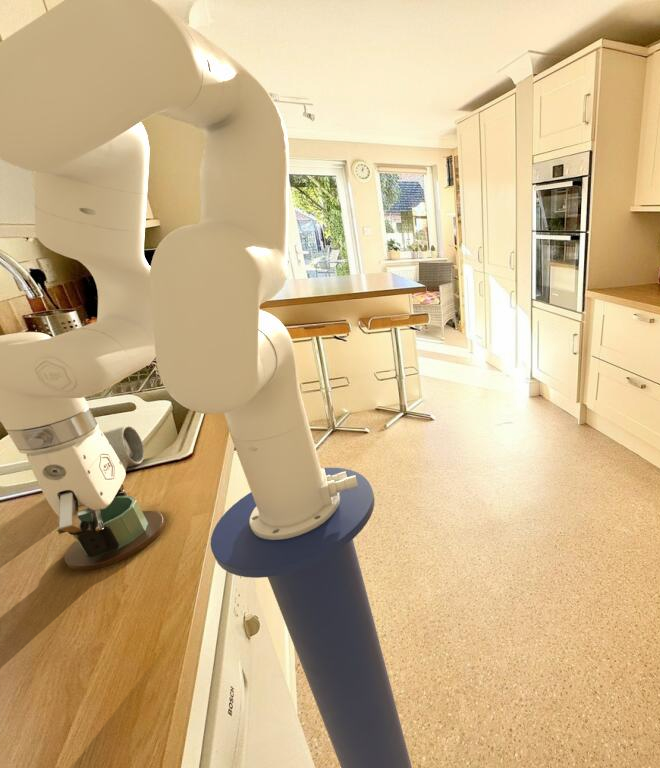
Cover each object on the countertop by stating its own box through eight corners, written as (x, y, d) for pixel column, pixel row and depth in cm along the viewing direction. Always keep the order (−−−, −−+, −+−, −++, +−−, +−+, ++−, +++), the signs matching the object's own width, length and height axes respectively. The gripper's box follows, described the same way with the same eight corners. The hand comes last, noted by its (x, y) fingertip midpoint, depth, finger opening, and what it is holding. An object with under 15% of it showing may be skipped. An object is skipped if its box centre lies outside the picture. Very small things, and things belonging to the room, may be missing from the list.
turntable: (171, 506, 68) (169, 502, 68) (156, 550, 59) (153, 546, 59) (83, 530, 63) (81, 526, 63) (52, 583, 54) (49, 578, 54)
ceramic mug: (96, 463, 81) (77, 429, 77) (148, 451, 84) (132, 418, 81) (74, 495, 72) (52, 458, 69) (133, 480, 75) (115, 444, 72)
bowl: (152, 513, 65) (141, 490, 63) (140, 542, 59) (127, 518, 58) (83, 532, 62) (69, 508, 60) (63, 566, 56) (47, 540, 54)
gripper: (66, 451, 48) (129, 564, 55) (113, 397, 62) (159, 492, 69) (-26, 471, 45) (54, 588, 52) (46, 409, 59) (101, 507, 66)
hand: (113, 532), depth 60 cm, fingers closed on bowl, 7 cm apart
